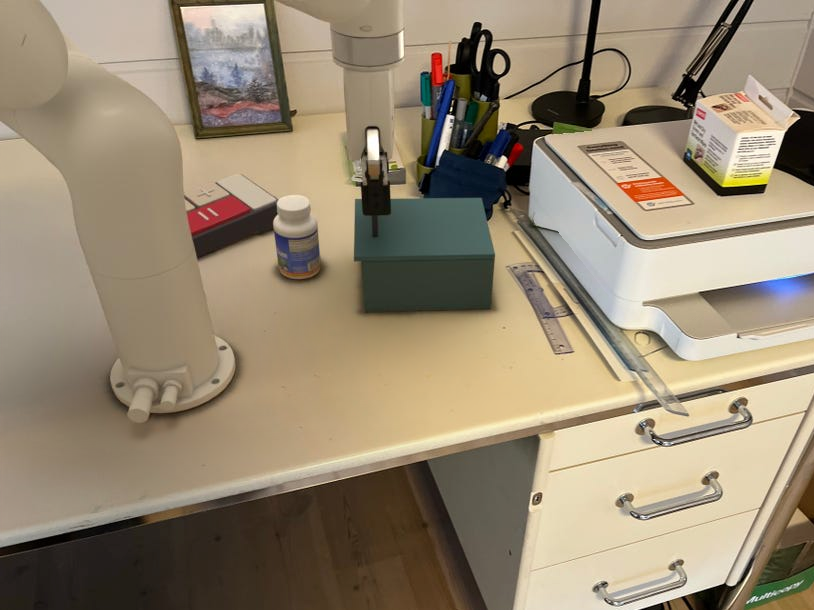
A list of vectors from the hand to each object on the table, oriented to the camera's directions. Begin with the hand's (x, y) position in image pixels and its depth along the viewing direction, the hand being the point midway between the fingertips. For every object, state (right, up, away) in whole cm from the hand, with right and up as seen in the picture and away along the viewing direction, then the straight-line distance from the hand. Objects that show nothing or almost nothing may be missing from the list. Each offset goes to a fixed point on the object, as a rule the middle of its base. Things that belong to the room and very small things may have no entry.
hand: (376, 193), depth 89 cm
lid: (+5, -4, +4) cm, 7 cm away
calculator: (-24, -1, +16) cm, 29 cm away
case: (+5, -9, +8) cm, 14 cm away
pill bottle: (-11, -8, +9) cm, 16 cm away
